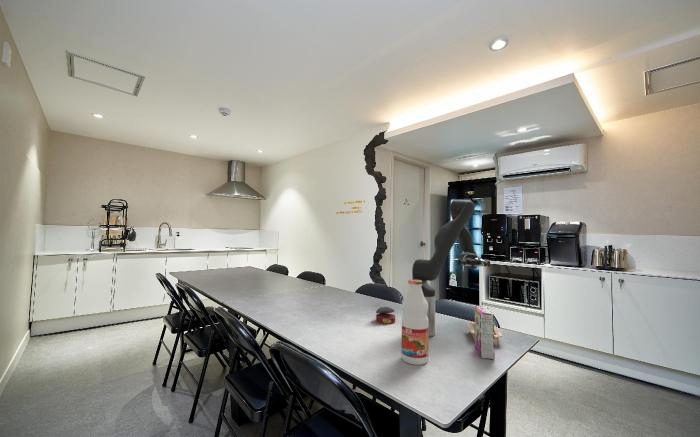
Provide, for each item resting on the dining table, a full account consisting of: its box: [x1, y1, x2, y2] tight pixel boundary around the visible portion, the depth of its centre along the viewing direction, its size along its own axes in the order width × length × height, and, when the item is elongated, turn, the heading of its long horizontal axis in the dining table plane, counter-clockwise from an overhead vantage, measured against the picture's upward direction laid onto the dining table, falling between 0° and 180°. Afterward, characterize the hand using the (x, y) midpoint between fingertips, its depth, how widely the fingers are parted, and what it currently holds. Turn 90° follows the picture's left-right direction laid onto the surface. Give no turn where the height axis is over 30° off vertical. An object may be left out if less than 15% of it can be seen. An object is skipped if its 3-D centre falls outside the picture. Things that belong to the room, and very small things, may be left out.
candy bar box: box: [474, 305, 495, 360], centre depth 110 cm, size 11×5×16 cm, turn 167°
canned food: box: [375, 306, 396, 325], centre depth 148 cm, size 11×10×10 cm
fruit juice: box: [400, 279, 429, 366], centre depth 103 cm, size 9×9×28 cm
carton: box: [467, 321, 503, 347], centre depth 126 cm, size 12×18×4 cm, turn 163°
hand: (475, 263), depth 131 cm, fingers open, 8 cm apart
